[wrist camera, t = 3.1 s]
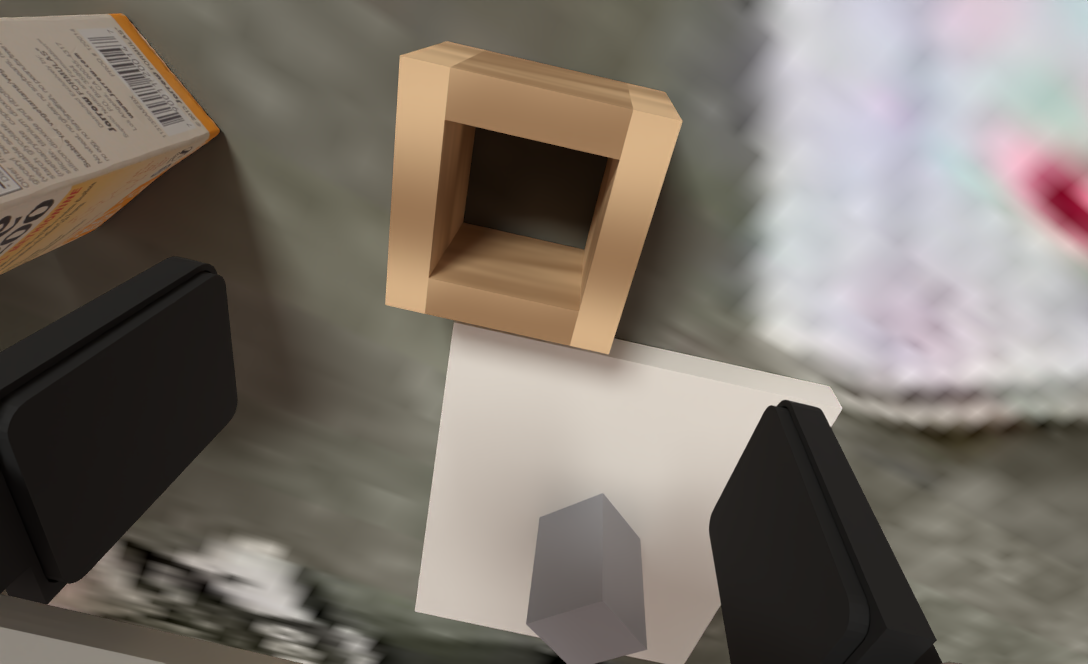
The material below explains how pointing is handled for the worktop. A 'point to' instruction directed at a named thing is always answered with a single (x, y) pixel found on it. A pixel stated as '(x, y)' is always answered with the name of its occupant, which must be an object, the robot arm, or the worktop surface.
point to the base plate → (587, 490)
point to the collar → (504, 258)
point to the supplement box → (83, 127)
